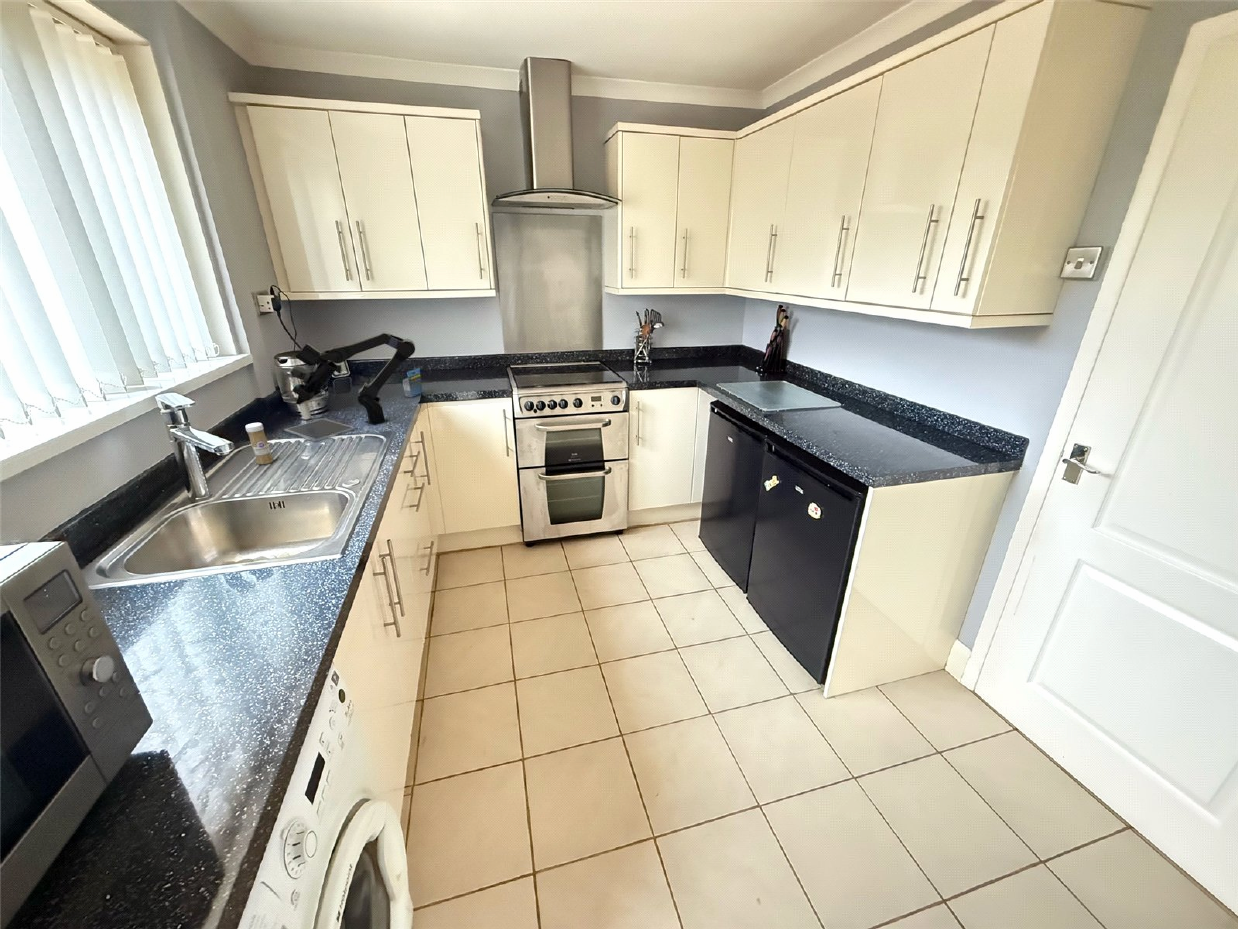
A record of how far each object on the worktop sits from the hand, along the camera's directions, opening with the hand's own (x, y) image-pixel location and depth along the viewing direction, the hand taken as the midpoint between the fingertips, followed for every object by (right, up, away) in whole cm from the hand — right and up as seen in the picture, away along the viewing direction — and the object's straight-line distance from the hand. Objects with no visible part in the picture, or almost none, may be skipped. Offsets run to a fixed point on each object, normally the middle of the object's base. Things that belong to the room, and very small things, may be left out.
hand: (299, 402), depth 192 cm
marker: (+1, -6, +3) cm, 7 cm away
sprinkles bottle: (+6, -24, -27) cm, 36 cm away
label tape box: (+26, +9, +47) cm, 54 cm away
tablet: (+8, -11, +1) cm, 13 cm away
